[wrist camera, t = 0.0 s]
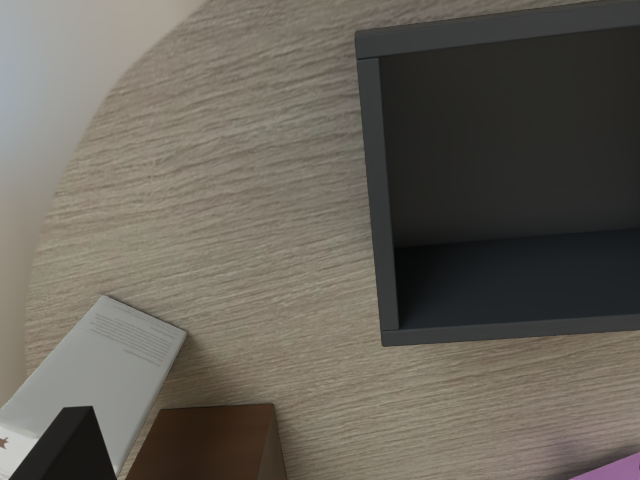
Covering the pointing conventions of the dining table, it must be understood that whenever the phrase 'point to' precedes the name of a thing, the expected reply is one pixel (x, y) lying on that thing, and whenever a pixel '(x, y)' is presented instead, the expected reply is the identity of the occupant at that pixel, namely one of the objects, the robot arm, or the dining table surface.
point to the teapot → (615, 470)
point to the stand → (212, 445)
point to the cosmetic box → (94, 381)
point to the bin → (504, 173)
